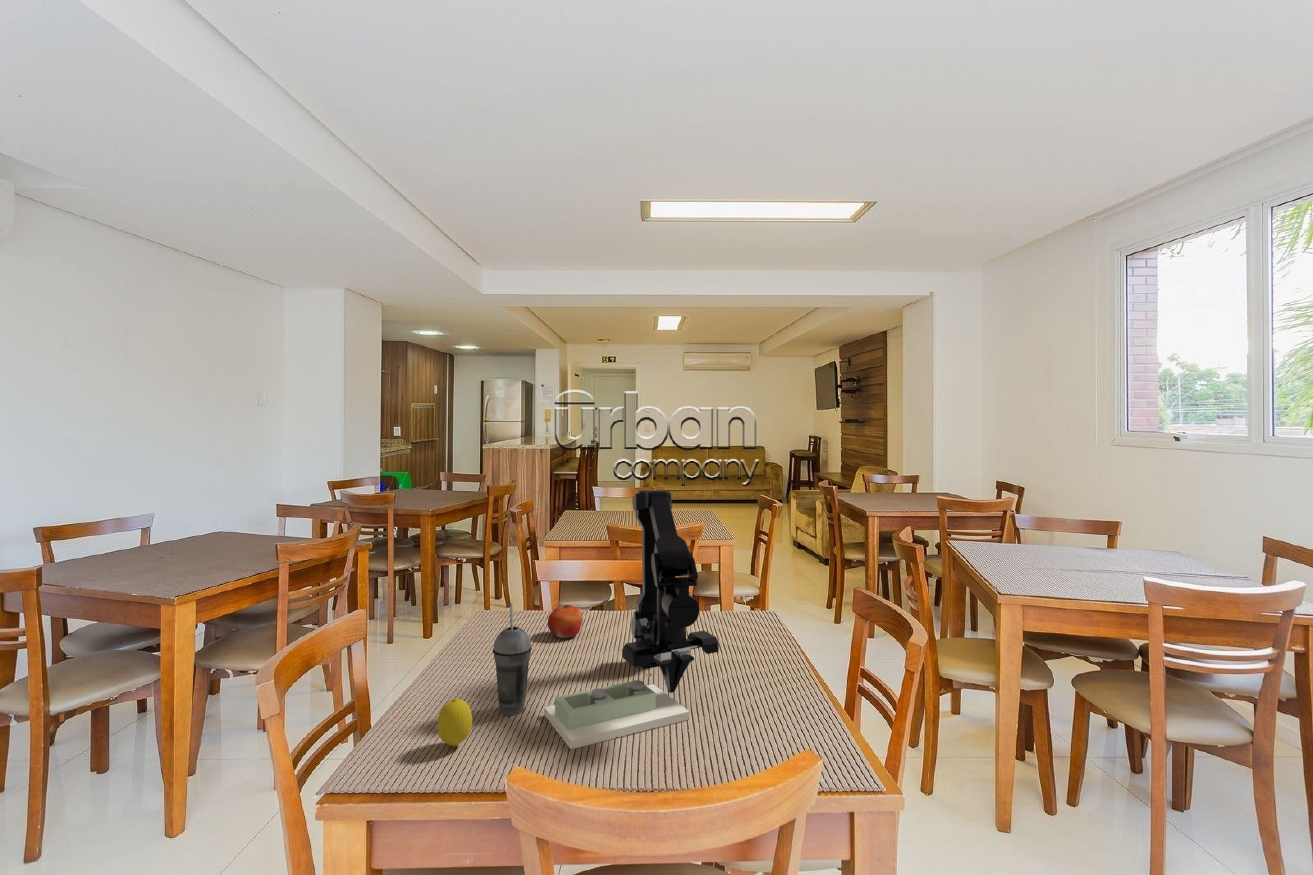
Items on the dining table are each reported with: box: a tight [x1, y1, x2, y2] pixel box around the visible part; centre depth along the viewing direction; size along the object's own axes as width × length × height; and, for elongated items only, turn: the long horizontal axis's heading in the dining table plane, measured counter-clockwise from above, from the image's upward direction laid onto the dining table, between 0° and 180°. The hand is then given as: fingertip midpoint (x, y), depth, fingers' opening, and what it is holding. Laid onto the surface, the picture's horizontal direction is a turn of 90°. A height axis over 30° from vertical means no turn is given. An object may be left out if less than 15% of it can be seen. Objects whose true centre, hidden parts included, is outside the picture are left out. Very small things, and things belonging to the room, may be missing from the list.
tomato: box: [547, 604, 584, 639], centre depth 158 cm, size 9×9×8 cm
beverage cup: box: [492, 602, 533, 716], centre depth 114 cm, size 7×7×20 cm
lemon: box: [436, 697, 473, 748], centre depth 100 cm, size 6×6×8 cm
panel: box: [554, 679, 656, 730], centre depth 110 cm, size 17×7×3 cm, turn 119°
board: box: [543, 680, 690, 750], centre depth 111 cm, size 23×14×6 cm, turn 119°
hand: (671, 692), depth 117 cm, fingers closed
